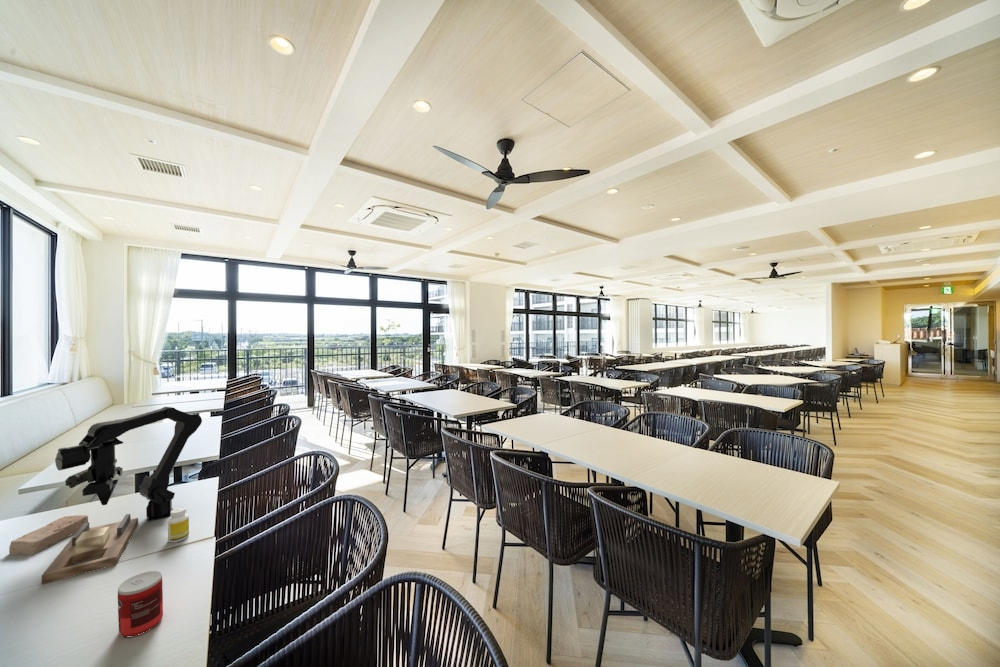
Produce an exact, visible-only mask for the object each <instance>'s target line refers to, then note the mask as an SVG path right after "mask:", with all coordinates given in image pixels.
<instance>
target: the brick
mask: <svg viewBox="0 0 1000 667" xmlns="http://www.w3.org/2000/svg"><path fill="white" fill-rule="evenodd" d="M88 522H89V516H88V515H85V514H79V515H78V514H77V515H67V516H62V517H60V518H57V519H56V520H53V521H52V522H50V523H47V524H46V525H45V526H42V527H40V528H37V529H35V530H33V531H30V532H28V533H26V534H24V535H22V536H20V537H17V538H16V539H13V540H11V541H10V543H9V548H8V549H9V550H8V554H9V555H11V556H15V555H16V556H17V555H18V556H19V555H24V556H28V555H29V556H32V555H35V554H37V553H39V552H41V551H44V550H45V549H47V548H49V547H51V546H53V545H55V544H56V542H57V543H59V542H60V541H59V540H61V541H63V540H65V539H66V538H65V537H67V536H69V535H71V534H73V533H75V532H77V531H78V530H79V529H80V528H81V527H82V525H83V524H84V523H88ZM75 534H76V533H75ZM73 535H74V534H73ZM71 536H72V535H71ZM69 537H70V536H69ZM64 538H65V539H64ZM67 538H68V537H67ZM62 539H63V540H62ZM58 541H59V542H58ZM54 543H55V544H54ZM52 544H53V545H52ZM50 545H51V546H50ZM46 547H47V548H46Z"/></svg>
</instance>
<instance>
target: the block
mask: <svg viewBox="0 0 1000 667" xmlns="http://www.w3.org/2000/svg"><path fill="white" fill-rule="evenodd" d="M109 539H110V532H109V527H104V528H100V529H95V530H91V531H86V532H83V533H82V534H81V535H80V536H79V538H78V539H77V540H76V554H78V553H83V552H87V551H91V550H95V549H99V548H103V547H104V546H105V545H106V543H107V542H108V540H109Z"/></svg>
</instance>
